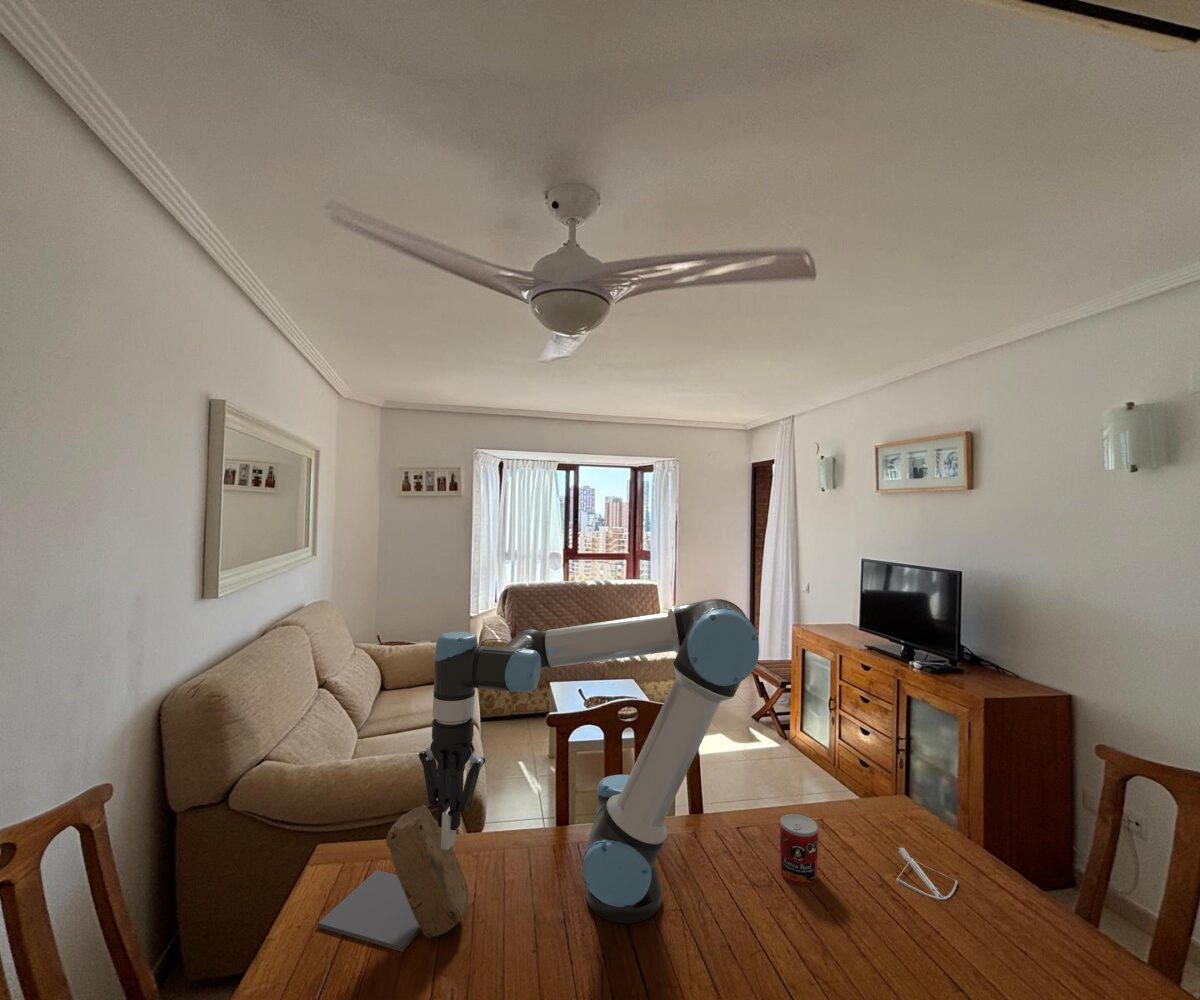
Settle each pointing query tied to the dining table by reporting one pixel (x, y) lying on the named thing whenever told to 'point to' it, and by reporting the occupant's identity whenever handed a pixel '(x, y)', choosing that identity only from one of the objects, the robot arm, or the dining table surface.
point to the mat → (375, 913)
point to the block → (427, 872)
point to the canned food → (798, 849)
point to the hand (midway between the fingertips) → (448, 844)
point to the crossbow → (923, 878)
